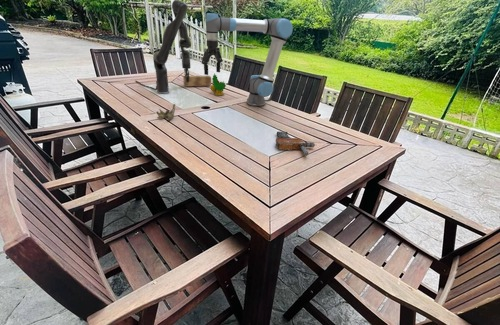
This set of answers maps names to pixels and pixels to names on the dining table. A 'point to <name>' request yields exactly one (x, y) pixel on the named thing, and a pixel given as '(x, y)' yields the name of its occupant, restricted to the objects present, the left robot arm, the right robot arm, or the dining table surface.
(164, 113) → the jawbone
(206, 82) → the bar
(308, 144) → the tool
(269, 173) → the dining table surface
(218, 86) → the ornament
